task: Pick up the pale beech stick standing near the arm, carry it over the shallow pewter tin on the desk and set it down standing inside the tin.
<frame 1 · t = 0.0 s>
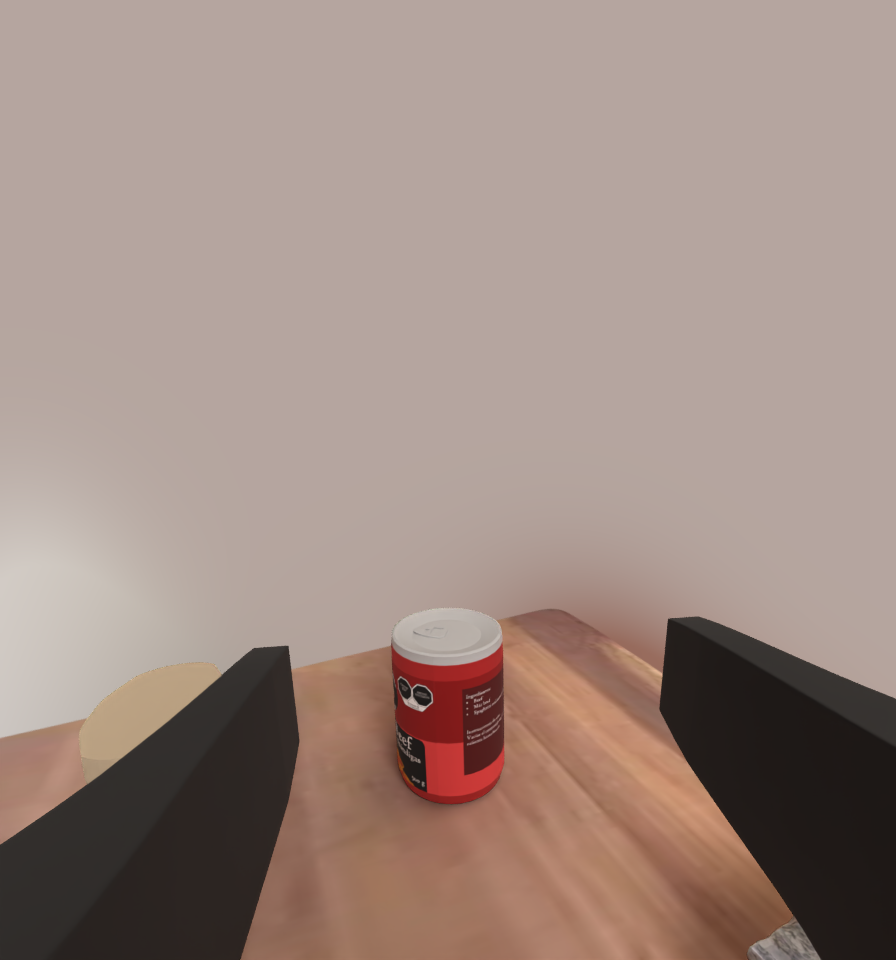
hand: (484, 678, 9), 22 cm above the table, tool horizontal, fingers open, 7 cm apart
canned food: (451, 768, 36), on the table
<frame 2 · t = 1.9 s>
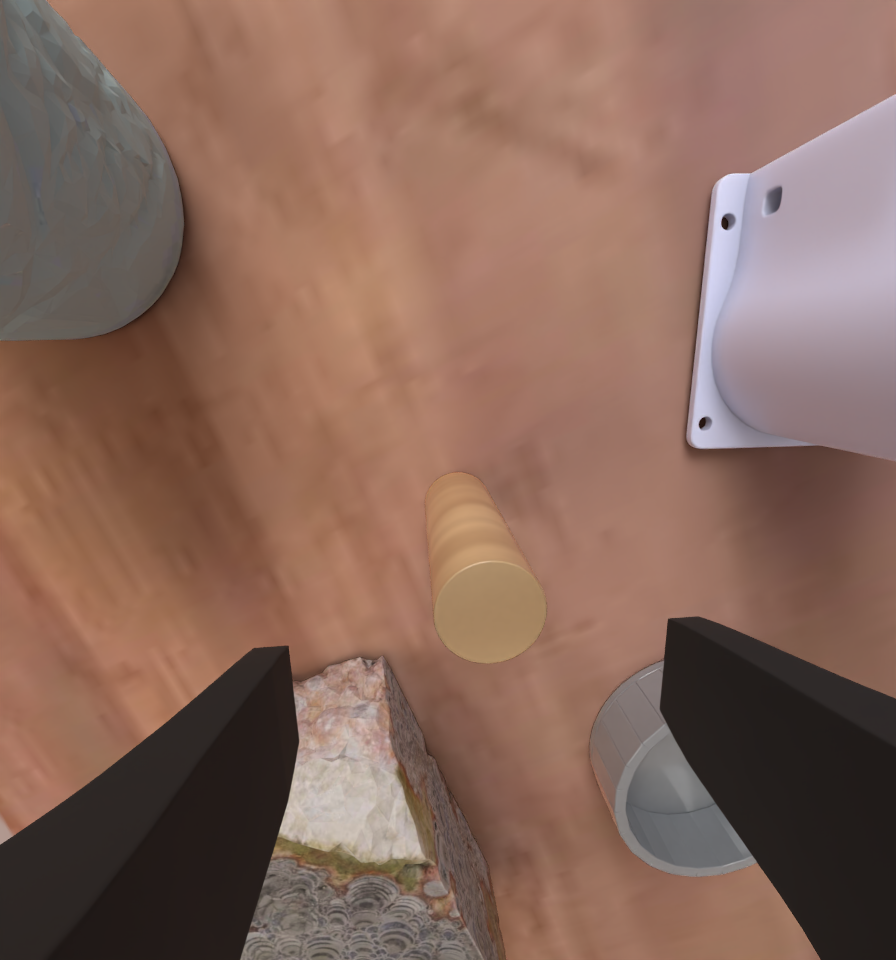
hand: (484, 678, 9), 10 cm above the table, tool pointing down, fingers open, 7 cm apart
stick: (457, 503, 19), on the table
geological specimen: (337, 809, 23), on the table
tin: (682, 737, 23), on the table
drinking glass: (56, 195, 16), on the table
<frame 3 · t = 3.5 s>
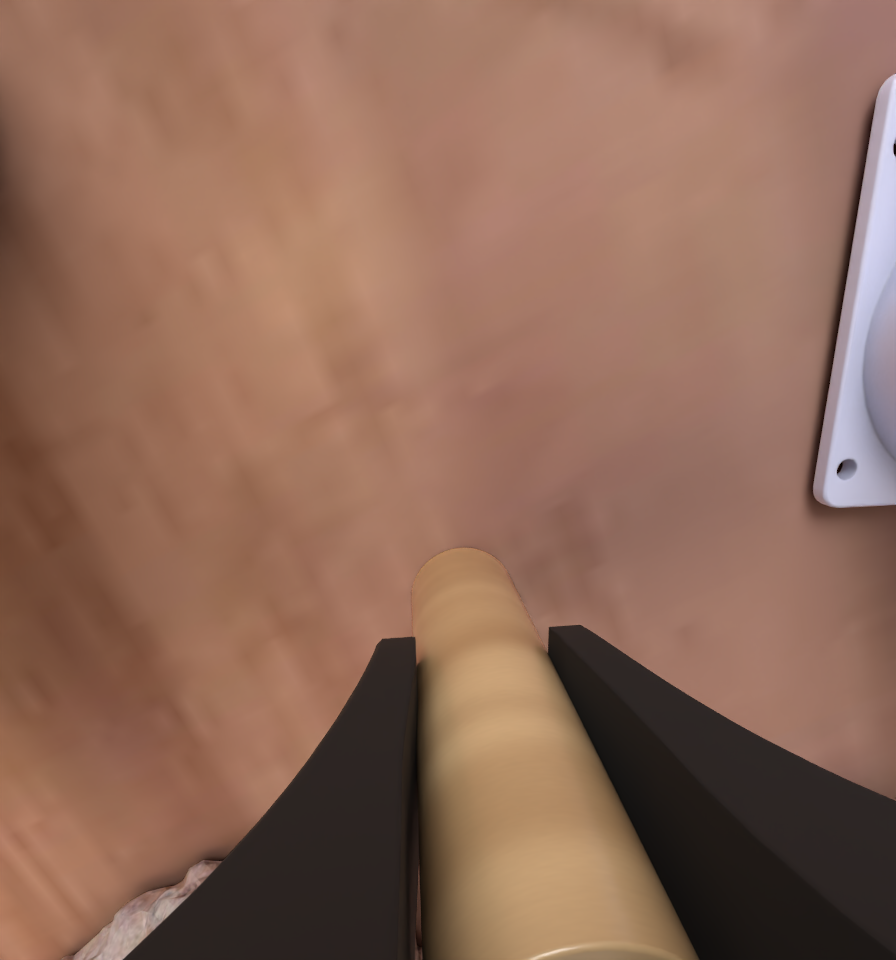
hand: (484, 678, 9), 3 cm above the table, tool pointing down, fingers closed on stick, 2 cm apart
stick: (462, 594, 12), on the table, touching gripper
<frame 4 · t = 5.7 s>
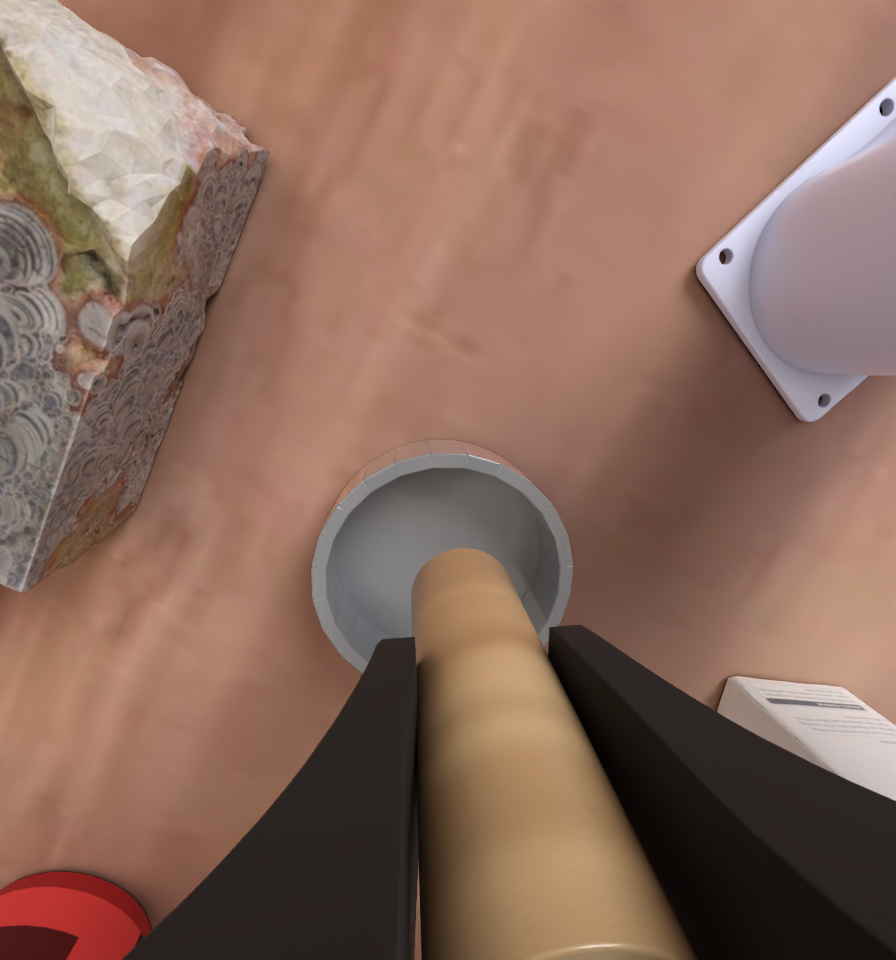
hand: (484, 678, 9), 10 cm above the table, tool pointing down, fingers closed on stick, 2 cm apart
stick: (461, 594, 12), point 7 cm above the table, touching gripper
cosmetics box: (752, 767, 24), on the table
canned food: (72, 926, 22), on the table
geological specimen: (40, 282, 16), on the table
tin: (438, 549, 19), on the table
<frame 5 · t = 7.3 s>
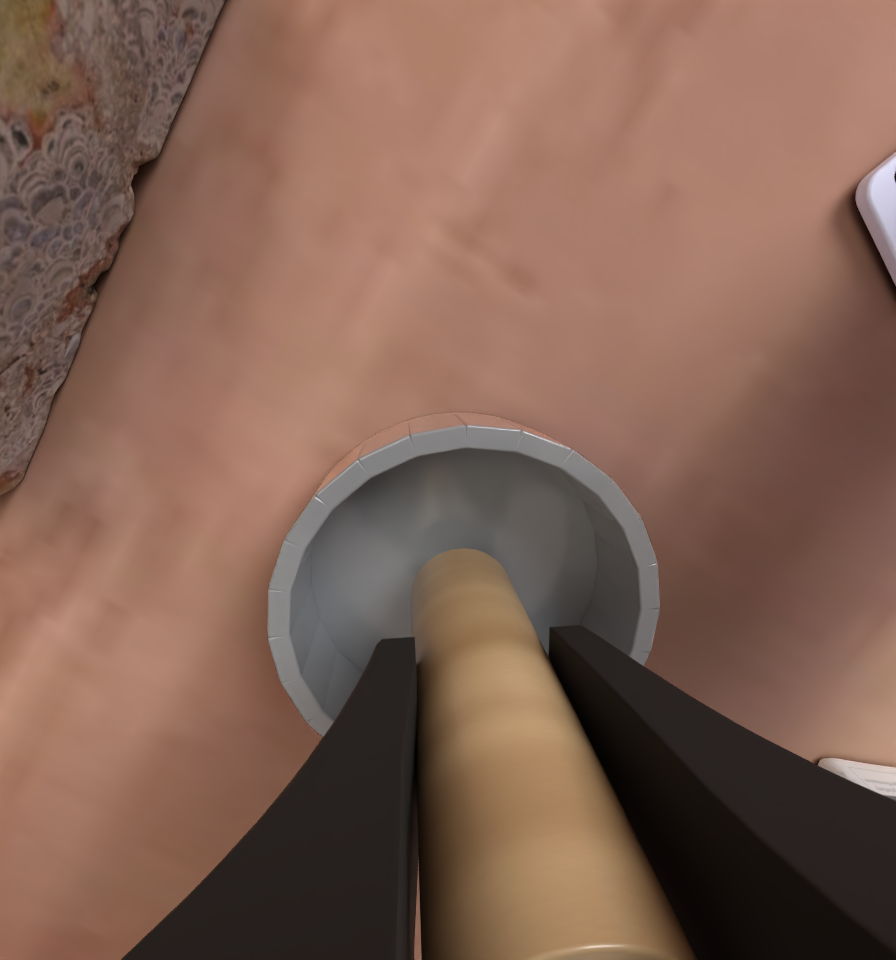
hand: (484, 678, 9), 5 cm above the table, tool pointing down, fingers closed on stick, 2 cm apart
stick: (461, 595, 12), point 2 cm above the table, touching gripper
cosmetics box: (833, 870, 18), on the table
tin: (456, 568, 14), on the table
when the fingers open (4 cm above the table, at t = 7.9 s): stick stays where it is, resting on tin.
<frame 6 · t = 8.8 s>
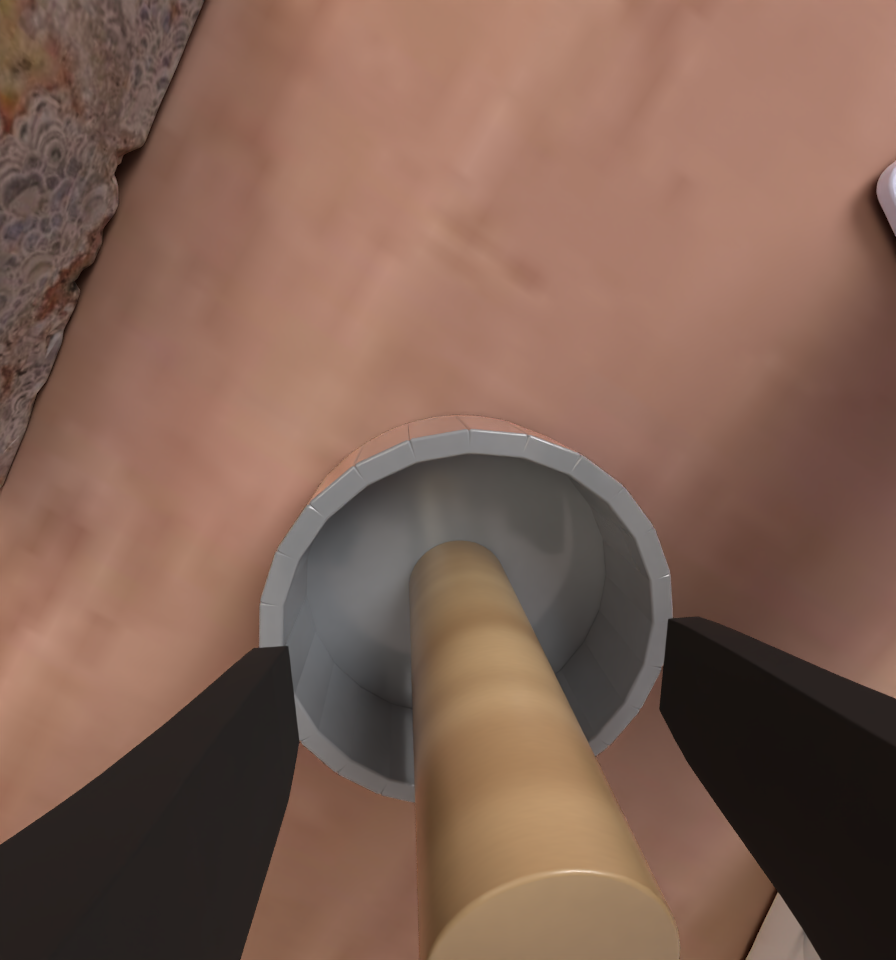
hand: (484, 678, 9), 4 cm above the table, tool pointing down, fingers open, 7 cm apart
stick: (457, 585, 13), resting on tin
cosmetics box: (846, 886, 18), on the table
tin: (458, 577, 13), on the table
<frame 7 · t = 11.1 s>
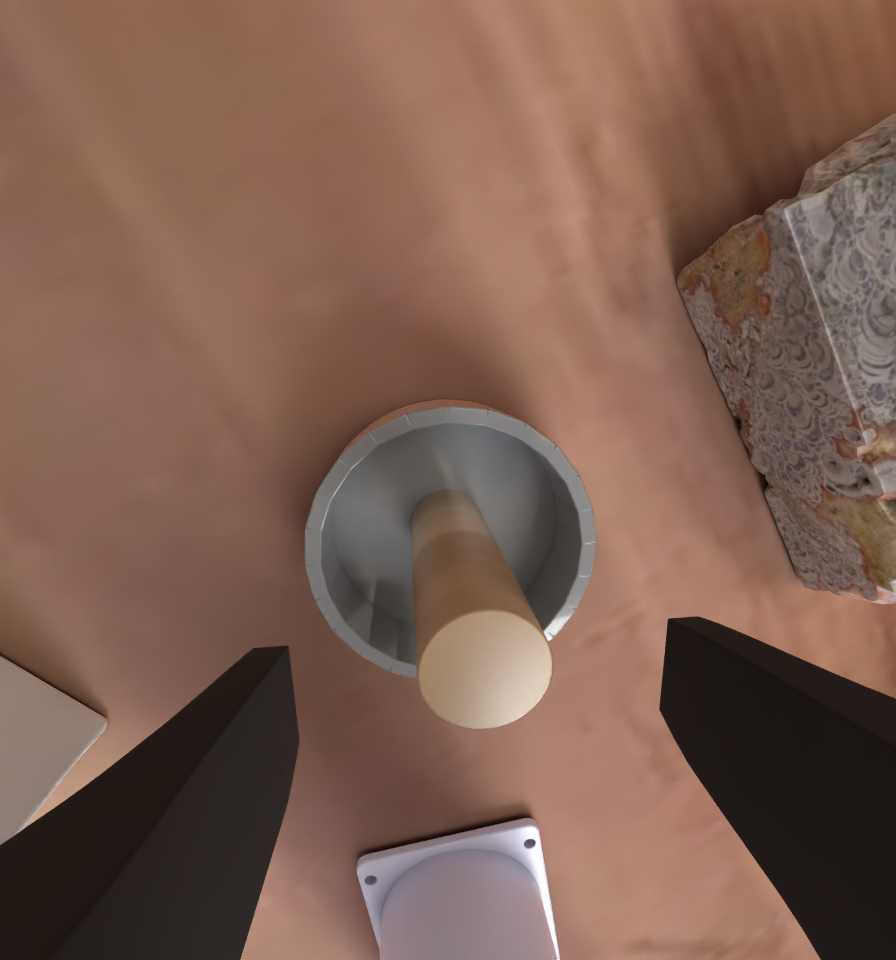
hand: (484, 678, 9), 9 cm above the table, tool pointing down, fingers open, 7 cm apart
stick: (446, 524, 17), resting on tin
geological specimen: (862, 364, 18), on the table
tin: (445, 522, 18), on the table
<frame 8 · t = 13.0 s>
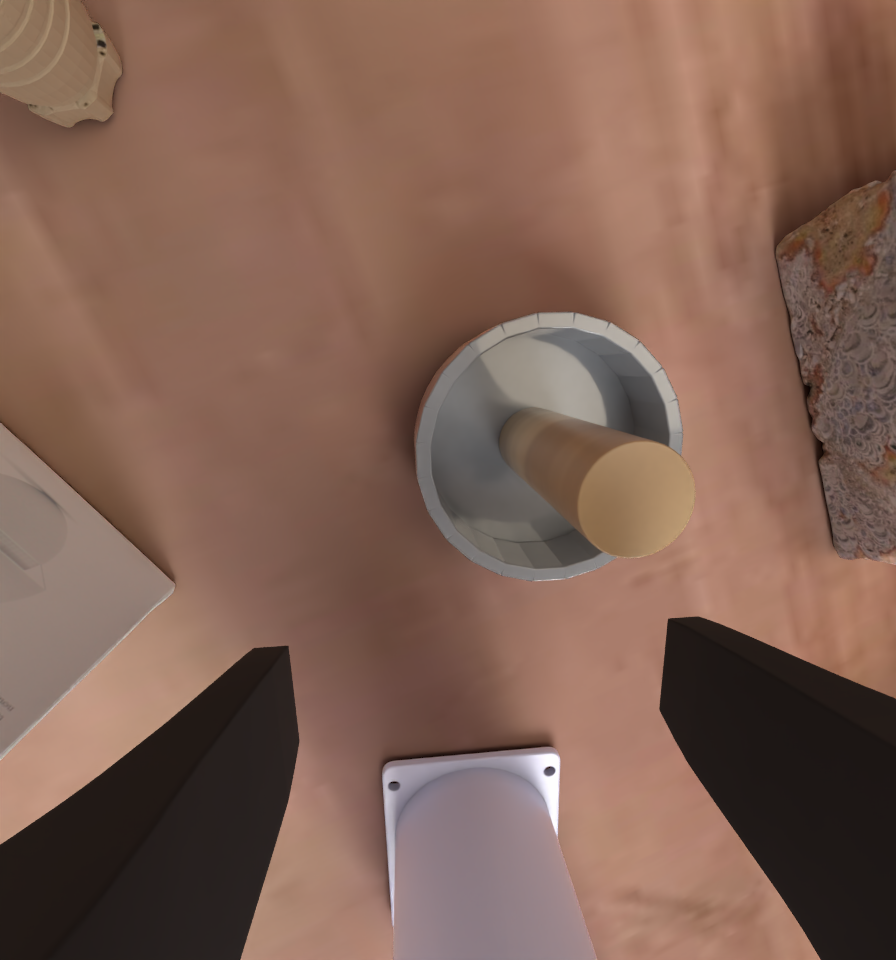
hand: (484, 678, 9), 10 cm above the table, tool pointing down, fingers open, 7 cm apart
stick: (532, 441, 18), resting on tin
cosmetics box: (17, 539, 18), on the table
handle: (78, 77, 15), on the table
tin: (529, 441, 19), on the table
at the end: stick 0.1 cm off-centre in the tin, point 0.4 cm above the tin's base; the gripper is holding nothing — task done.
